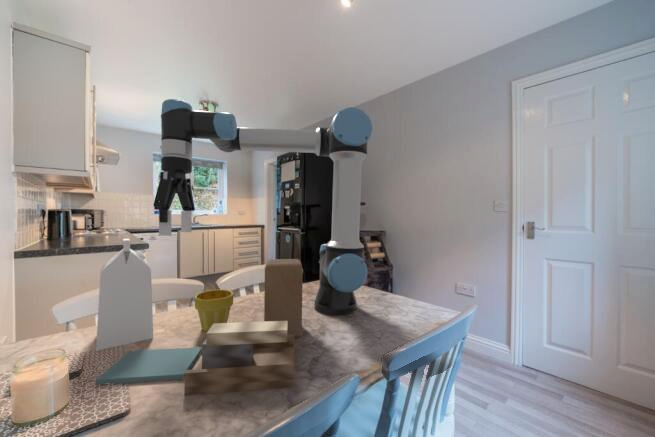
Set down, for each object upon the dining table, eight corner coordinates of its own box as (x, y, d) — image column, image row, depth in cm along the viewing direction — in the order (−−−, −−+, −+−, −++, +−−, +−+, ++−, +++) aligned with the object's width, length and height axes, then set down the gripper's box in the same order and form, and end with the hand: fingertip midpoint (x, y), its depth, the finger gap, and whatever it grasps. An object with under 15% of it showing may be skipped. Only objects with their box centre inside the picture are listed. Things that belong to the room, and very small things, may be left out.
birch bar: (287, 331, 61) (287, 320, 61) (287, 341, 56) (287, 330, 56) (213, 334, 58) (213, 323, 58) (206, 345, 54) (206, 333, 54)
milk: (99, 333, 74) (99, 238, 73) (149, 323, 81) (150, 237, 80) (96, 351, 64) (96, 242, 64) (153, 338, 71) (153, 240, 71)
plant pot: (219, 337, 72) (220, 300, 72) (186, 333, 74) (186, 298, 74) (239, 322, 82) (240, 290, 82) (209, 319, 84) (210, 288, 84)
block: (302, 338, 72) (302, 264, 72) (263, 341, 70) (264, 265, 70) (299, 323, 82) (300, 258, 81) (266, 325, 80) (266, 258, 80)
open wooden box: (294, 350, 65) (294, 323, 65) (294, 387, 51) (295, 352, 51) (208, 355, 63) (208, 326, 63) (184, 395, 49) (184, 358, 49)
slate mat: (202, 351, 64) (202, 347, 64) (183, 379, 54) (183, 374, 54) (129, 355, 62) (129, 350, 62) (95, 384, 51) (95, 379, 51)
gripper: (181, 165, 87) (181, 230, 87) (136, 146, 62) (136, 237, 63) (205, 166, 88) (205, 231, 88) (170, 147, 63) (170, 237, 64)
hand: (176, 233), depth 75 cm, fingers open, 13 cm apart
